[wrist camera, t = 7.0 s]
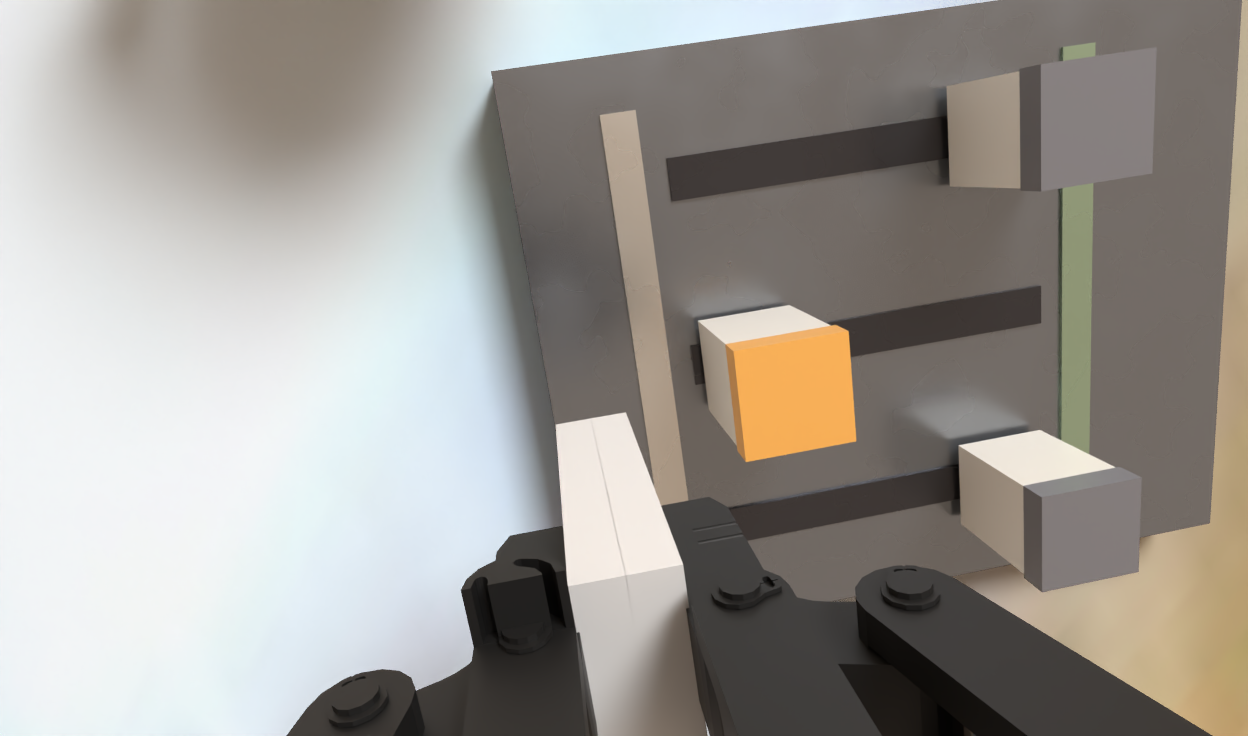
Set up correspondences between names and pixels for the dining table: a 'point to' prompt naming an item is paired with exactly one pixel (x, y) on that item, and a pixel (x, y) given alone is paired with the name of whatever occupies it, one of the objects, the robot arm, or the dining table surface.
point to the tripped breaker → (778, 381)
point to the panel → (881, 266)
